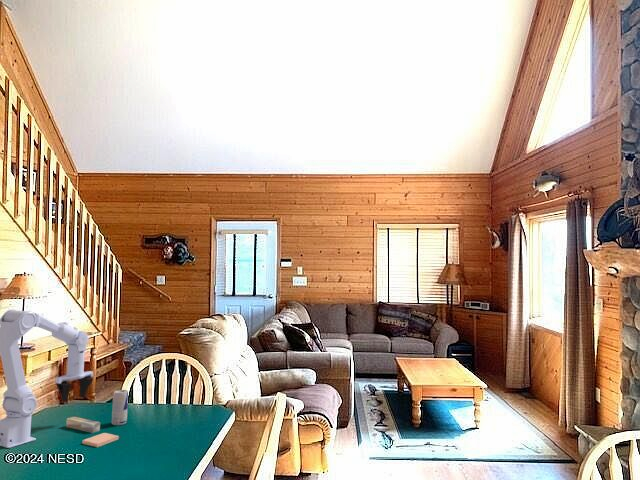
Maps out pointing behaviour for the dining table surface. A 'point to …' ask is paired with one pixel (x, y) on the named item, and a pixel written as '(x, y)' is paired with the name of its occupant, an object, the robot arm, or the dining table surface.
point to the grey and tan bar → (83, 424)
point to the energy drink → (119, 407)
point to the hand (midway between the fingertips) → (73, 399)
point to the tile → (100, 439)
